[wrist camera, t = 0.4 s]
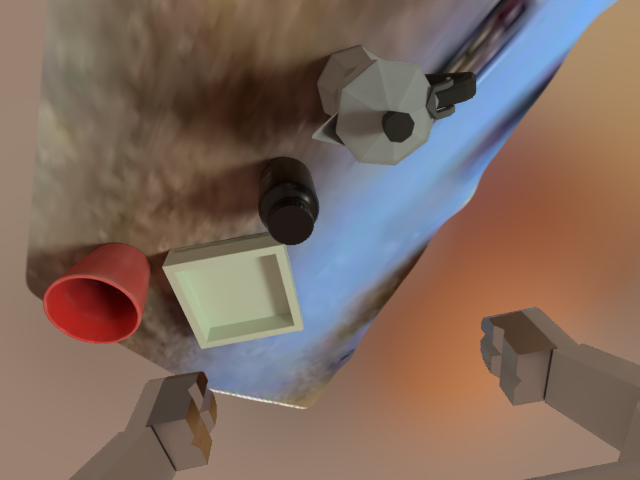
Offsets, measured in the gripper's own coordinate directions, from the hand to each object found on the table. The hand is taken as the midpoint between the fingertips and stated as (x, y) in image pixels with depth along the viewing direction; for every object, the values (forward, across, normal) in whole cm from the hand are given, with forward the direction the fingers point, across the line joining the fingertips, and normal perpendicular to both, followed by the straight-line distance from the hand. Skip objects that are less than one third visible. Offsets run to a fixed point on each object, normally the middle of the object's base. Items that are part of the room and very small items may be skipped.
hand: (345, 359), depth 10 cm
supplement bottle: (+38, +3, +5) cm, 39 cm away
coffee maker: (+37, -8, -5) cm, 38 cm away
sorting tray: (+40, +13, +20) cm, 46 cm away
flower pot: (+39, +28, +13) cm, 50 cm away
